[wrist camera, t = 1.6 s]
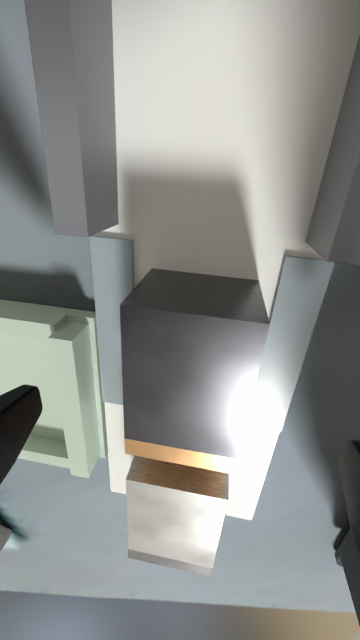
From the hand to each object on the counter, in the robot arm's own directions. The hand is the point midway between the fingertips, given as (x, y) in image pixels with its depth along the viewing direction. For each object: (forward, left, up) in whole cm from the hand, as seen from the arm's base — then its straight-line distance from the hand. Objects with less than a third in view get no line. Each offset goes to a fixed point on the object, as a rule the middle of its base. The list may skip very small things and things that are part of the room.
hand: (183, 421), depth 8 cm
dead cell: (0, +7, -4) cm, 9 cm away
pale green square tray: (+9, +4, -5) cm, 11 cm away
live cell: (0, 0, -4) cm, 4 cm away
